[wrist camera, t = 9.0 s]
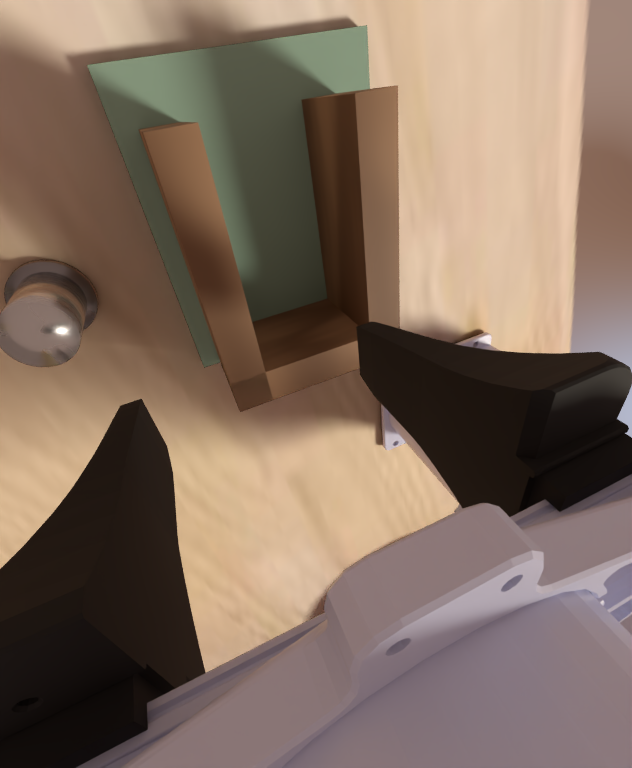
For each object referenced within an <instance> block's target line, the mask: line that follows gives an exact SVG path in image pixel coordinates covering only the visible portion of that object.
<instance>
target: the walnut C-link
mask: <svg viewBox="0 0 632 768" xmlns="http://www.w3.org/2000/svg"><path fill="white" fill-rule="evenodd" d="M302 108H303V115H304V123H305V131H306V138H307V146H308V154H309V161H310V169H311V177H312V184H313V192H314V200H315V207H316V215H317V223H318V230H319V238H320V245H321V253H322V261H323V268H324V276H325V284H326V291H327V299H324V300H321V301H318V302H315V303H311V304H308V305H305V306H302V307H299V308H295V309H292V310H289V311H286V312H283V313H279V314H276V315H273V316H270V317H267V318H264V319H260V320H257V321H254V322H252V320H251V316H250V312H249V309H248V305H247V301H246V298H245V294H244V290H243V286H242V283H241V279H240V275H239V272H238V268H237V264H236V261H235V257H234V253H233V250H232V246H231V242H230V238H229V235H228V231H227V227H226V224H225V220H224V216H223V213H222V209H221V205H220V202H219V198H218V194H217V190H216V187H215V183H214V179H213V176H212V172H211V168H210V165H209V161H208V157H207V153H206V150H205V146H204V142H203V139H202V135H201V131H200V128H199V124H198V122H176V123H171V124H165V125H160V126H154V127H149V128H143V129H138V130H139V133H140V135H141V138H142V141H143V144H144V147H145V150H146V152H147V155H148V158H149V161H150V164H151V167H152V169H153V172H154V175H155V178H156V181H157V184H158V186H159V189H160V192H161V195H162V198H163V201H164V203H165V206H166V209H167V212H168V215H169V218H170V221H171V223H172V226H173V229H174V232H175V235H176V238H177V240H178V243H179V246H180V249H181V252H182V255H183V257H184V260H185V263H186V266H187V269H188V272H189V274H190V277H191V280H192V283H193V286H194V289H195V291H196V294H197V297H198V300H199V303H200V306H201V308H202V311H203V314H204V317H205V320H206V323H207V325H208V328H209V331H210V334H211V337H212V340H213V342H214V345H215V348H216V351H217V354H218V357H219V359H220V362H221V365H222V367H223V370H224V372H225V375H226V377H227V380H228V382H229V385H230V387H231V390H232V392H233V395H234V398H235V400H236V403H237V405H238V408H239V410H240V412H241V411H244V410H247V409H250V408H252V407H255V406H258V405H261V404H263V403H266V402H269V401H271V400H274V399H277V398H280V397H282V396H285V395H288V394H291V393H293V392H296V391H299V390H301V389H304V388H307V387H310V386H312V385H315V384H318V383H321V382H323V381H326V380H329V379H332V378H334V377H337V376H340V375H342V374H345V373H348V372H351V371H353V370H356V369H359V368H360V366H359V354H358V342H357V330H356V327H357V326H360V325H363V324H366V323H369V322H372V321H373V322H378V323H382V324H385V325H389V326H392V327H395V328H398V329H400V317H399V183H398V86H390V87H382V88H374V89H366V90H358V91H350V92H343V93H335V94H329V95H324V96H319V97H313V98H308V99H302Z"/></svg>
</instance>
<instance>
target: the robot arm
mask: <svg viewBox="0 0 632 768" xmlns="http://www.w3.org/2000/svg"><path fill="white" fill-rule="evenodd" d="M356 330H357V342H358V354H359V366H360V375H361V377H362V378H363V380H364V381H365V383H366V384H367V386H368V387H369V389H370V390H371V392H372V393H373V395H374V396H375V397H376V398H377V399H378V401H379V402H380V403H381V415H382V436H383V447H384V448H385V449H386V450H391V449H393V448H395V447H398V446H400V445H402V444H405V443H407V444H408V445H409V447H410V448H411V449H412V450H413V451H414V452H415V453H416V455H417V456H418V457H419V458H420V459H421V460H422V461H423V463H424V464H425V465H426V466H427V467H428V468H429V469H430V471H431V472H432V473H433V474H434V475H435V476H436V477H437V479H438V480H439V481H440V482H441V483H442V484H443V486H444V487H445V488H446V489H447V490H448V491H449V492H450V494H451V495H452V496H453V497H454V498H455V499H456V500H457V502H458V503H459V506H458V507H457V508H456V509H455V511H454V512H455V513H453V514H451V515H449V516H447V517H445V518H443V519H441V520H439V521H437V522H435V523H433V524H431V525H428V526H426V527H424V528H422V529H420V530H418V531H416V532H414V533H412V534H410V535H408V536H406V537H404V538H402V539H400V540H398V541H396V542H394V543H392V544H390V545H388V546H386V547H384V548H381V549H379V550H377V551H375V552H373V553H371V554H369V555H367V556H365V557H364V558H362V559H361V560H359V561H357V562H356V563H354V564H353V565H351V566H350V567H348V568H347V569H345V570H344V571H343V572H342V573H341V574H340V575H339V577H338V578H337V579H336V580H335V581H334V582H333V583H332V585H331V586H330V587H329V589H328V592H327V595H326V600H325V605H324V611H325V612H324V613H322V614H320V615H318V616H316V617H314V618H312V619H310V620H308V621H306V622H304V623H302V624H300V625H299V626H297V627H295V628H293V629H291V630H289V631H287V632H285V633H283V634H281V635H279V636H277V637H275V638H273V639H271V640H269V641H267V642H265V643H263V644H261V645H259V646H258V647H256V648H254V649H252V650H250V651H248V652H246V653H244V654H242V655H240V656H238V657H236V658H234V659H232V660H230V661H228V662H226V663H224V664H222V665H220V666H219V667H217V668H215V669H213V670H211V671H209V672H207V673H205V669H204V665H203V661H202V657H201V652H200V648H199V644H198V639H197V635H196V631H195V626H194V622H193V617H192V613H191V608H190V603H189V598H188V593H187V588H186V584H185V579H184V573H183V568H182V563H181V557H180V552H179V545H178V536H177V522H176V508H175V493H174V480H173V471H172V467H171V462H170V457H169V453H168V449H167V445H166V443H165V442H164V440H163V438H162V436H161V434H160V432H159V431H158V429H157V427H156V425H155V423H154V421H153V419H152V418H151V416H150V414H149V412H148V410H147V408H146V406H145V405H144V403H143V401H142V399H139V400H136V401H133V402H130V403H127V404H124V405H121V406H120V408H119V409H118V411H117V413H116V415H115V417H114V419H113V421H112V422H111V424H110V426H109V428H108V430H107V432H106V434H105V436H104V438H103V439H102V441H101V443H100V445H99V447H98V448H97V450H96V452H95V454H94V455H93V457H92V459H91V460H90V462H89V463H88V465H87V466H86V468H85V470H84V471H83V473H82V474H81V476H80V477H79V479H78V480H77V482H76V483H75V485H74V486H73V488H72V489H71V490H70V492H69V493H68V494H67V496H66V497H65V498H64V500H63V501H62V502H61V503H60V505H59V506H58V507H57V509H56V510H55V511H54V512H53V513H52V515H51V516H50V517H49V518H48V519H47V520H46V521H45V523H44V524H43V525H42V526H41V527H40V528H39V529H38V530H37V532H36V533H35V534H34V535H33V536H32V537H31V538H30V539H29V540H28V542H27V543H26V544H25V545H24V546H23V547H22V548H21V549H20V550H19V551H18V552H17V553H16V554H15V555H14V556H13V557H12V558H11V559H10V560H9V561H8V562H7V563H6V564H5V565H4V566H3V567H2V568H1V569H0V768H632V438H631V437H630V436H628V435H627V434H625V433H626V432H627V431H628V429H629V428H628V426H627V425H626V424H624V423H623V422H621V421H619V420H618V419H617V417H618V415H619V413H620V411H621V408H622V406H623V404H624V402H625V400H626V398H627V395H628V393H629V390H630V388H631V384H632V373H631V370H630V367H628V366H627V365H625V364H624V363H622V362H619V361H618V360H616V359H613V358H612V357H609V356H607V355H605V354H603V353H601V352H587V353H563V354H546V353H517V352H506V351H499V350H498V349H496V348H495V347H493V346H491V345H490V344H491V335H490V334H489V333H482V334H479V335H477V336H474V337H471V338H469V339H466V340H463V341H461V342H458V343H455V344H453V343H448V342H444V341H440V340H436V339H432V338H429V337H425V336H422V335H418V334H415V333H411V332H408V331H405V330H402V329H398V328H395V327H392V326H389V325H385V324H382V323H378V322H373V321H372V322H369V323H366V324H363V325H360V326H357V327H356Z"/></svg>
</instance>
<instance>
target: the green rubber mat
mask: <svg viewBox="0 0 632 768" xmlns="http://www.w3.org/2000/svg"><path fill="white" fill-rule="evenodd" d="M87 66H88V69H89V71H90V74H91V77H92V79H93V82H94V84H95V87H96V89H97V92H98V95H99V97H100V100H101V102H102V105H103V107H104V110H105V113H106V115H107V118H108V120H109V123H110V126H111V128H112V131H113V133H114V136H115V138H116V141H117V144H118V146H119V149H120V151H121V154H122V157H123V159H124V162H125V164H126V167H127V169H128V172H129V175H130V177H131V180H132V182H133V185H134V187H135V190H136V193H137V195H138V198H139V200H140V203H141V206H142V208H143V211H144V213H145V216H146V218H147V221H148V224H149V226H150V229H151V231H152V234H153V236H154V239H155V242H156V244H157V247H158V249H159V252H160V255H161V257H162V260H163V262H164V265H165V267H166V270H167V273H168V275H169V278H170V280H171V283H172V286H173V288H174V291H175V293H176V296H177V298H178V301H179V304H180V306H181V309H182V311H183V314H184V316H185V319H186V322H187V324H188V327H189V329H190V332H191V335H192V337H193V340H194V342H195V345H196V347H197V350H198V353H199V355H200V358H201V360H202V363H203V365H204V368H205V367H208V366H211V365H214V364H217V363H220V359H219V357H218V354H217V351H216V348H215V345H214V342H213V340H212V337H211V334H210V331H209V328H208V325H207V323H206V320H205V317H204V314H203V311H202V308H201V306H200V303H199V300H198V297H197V294H196V291H195V289H194V286H193V283H192V280H191V277H190V274H189V272H188V269H187V266H186V263H185V260H184V257H183V255H182V252H181V249H180V246H179V243H178V240H177V238H176V235H175V232H174V229H173V226H172V223H171V221H170V218H169V215H168V212H167V209H166V206H165V203H164V201H163V198H162V195H161V192H160V189H159V186H158V184H157V181H156V178H155V175H154V172H153V169H152V167H151V164H150V161H149V158H148V155H147V152H146V150H145V147H144V144H143V141H142V138H141V135H140V133H139V130H138V129H143V128H149V127H154V126H160V125H165V124H171V123H176V122H198V124H199V128H200V131H201V135H202V139H203V142H204V146H205V150H206V153H207V157H208V161H209V165H210V168H211V172H212V176H213V179H214V183H215V187H216V190H217V194H218V198H219V202H220V205H221V209H222V213H223V216H224V220H225V224H226V227H227V231H228V235H229V238H230V242H231V246H232V250H233V253H234V257H235V261H236V264H237V268H238V272H239V275H240V279H241V283H242V286H243V290H244V294H245V298H246V301H247V305H248V309H249V312H250V316H251V320H252V322H254V321H257V320H260V319H264V318H267V317H270V316H273V315H276V314H279V313H283V312H286V311H289V310H292V309H295V308H299V307H302V306H305V305H308V304H311V303H315V302H318V301H321V300H324V299H327V291H326V284H325V276H324V268H323V261H322V253H321V245H320V238H319V230H318V223H317V215H316V207H315V200H314V192H313V184H312V177H311V169H310V161H309V154H308V146H307V138H306V131H305V123H304V115H303V108H302V99H308V98H313V97H319V96H324V95H329V94H335V93H343V92H350V91H358V90H366V89H370V83H369V59H368V36H367V25H366V26H359V27H352V28H345V29H338V30H331V31H324V32H316V33H309V34H302V35H295V36H288V37H281V38H274V39H267V40H260V41H253V42H246V43H239V44H232V45H225V46H218V47H211V48H204V49H196V50H189V51H182V52H175V53H168V54H161V55H154V56H147V57H140V58H133V59H126V60H119V61H112V62H105V63H98V64H91V65H87Z"/></svg>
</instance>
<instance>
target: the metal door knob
mask: <svg viewBox="0 0 632 768" xmlns="http://www.w3.org/2000/svg"><path fill="white" fill-rule="evenodd" d="M4 294H5V301H6V306H5V307H4V309H3V311H2V312H1V314H0V347H1V348H2V349H3V351H4V352H5V353H7V354H8V355H9V356H10V357H12V358H13V359H15V360H17V361H19V362H21V363H24V364H27V365H31V366H37V367H51V366H56V365H60V364H62V363H64V362H66V361H68V360H69V359H71V358H72V357H73V356H74V355H75V354H76V352H77V351H78V349H79V346H80V341H81V336H82V331H83V330H84V329H86V328H87V327H88V326H89V325H90V324H91V323H92V322H93V320H94V318H95V316H96V313H97V308H98V298H97V294H96V291H95V288H94V287H93V285H92V283H91V282H90V281H89V279H88V278H87V277H86V276H85V275H84V274H82V273H81V272H80V271H79V270H77V269H76V268H74V267H72V266H70V265H68V264H65V263H62V262H59V261H54V260H35V261H31V262H27V263H25V264H23V265H21V266H20V267H18V268H17V269H16V270H15V271H14V272H13V273H12V274H11V276H10V277H9V278H8V280H7V282H6V286H5V292H4Z"/></svg>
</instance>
